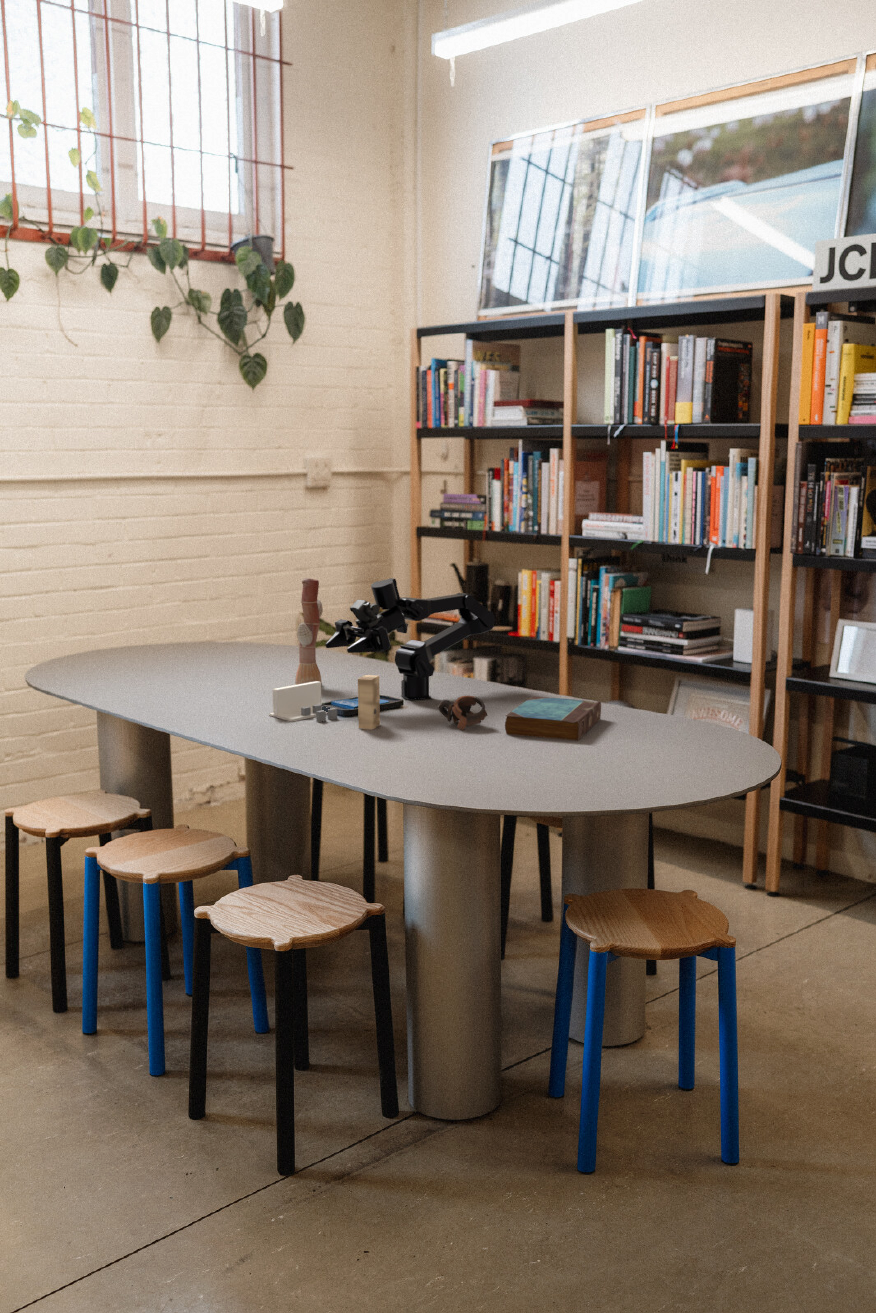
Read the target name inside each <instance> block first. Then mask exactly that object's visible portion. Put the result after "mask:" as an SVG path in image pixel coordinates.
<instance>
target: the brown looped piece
mask: <svg viewBox="0 0 876 1313" xmlns="http://www.w3.org/2000/svg"><path fill="white" fill-rule="evenodd" d="M476 704H478V705H479V706H480V708H481V710H480V711H478V712H475V713H474V712H473V711H471V709H472V706H475V705H476ZM437 708H438V710H439V712H440V714H441V715H442V716H443V717H444V718H446V719H447V722H448V723H450V722H451V721H452V722H453V724H455V723H457V722H458V724H457V725H456V727H457V728H458V729H459V730H461V731H464V730H465V729H466V727H471V726H474V725H477V724H481V723H482V721H484V720H485V719H486V717H488V716H489V715H488V713H487V710H486V705H485V702H484V701H483V699H481V698H479V697H477V696H473V695H462V696H459V697H457V699H456V700H455V701H452V700H448V699H443V700H441V701H440V702H439V705H438V707H437Z"/></svg>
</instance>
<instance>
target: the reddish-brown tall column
mask: <svg viewBox="0 0 876 1313" xmlns="http://www.w3.org/2000/svg"><path fill="white" fill-rule="evenodd" d="M301 583H302V591H301V592H302V593H301V601H300V602H301V606H302V607H301V608H302V614H303V622H301V623H299V625H298V627H297V630H296V631H297V632H296V637H297V639H298V642H299V643H298V651H299V652H298V653H299V656H298V658H299V664H298V667H297V669H296V674H295V681H294V682H295V684H294V685H298V684H304V683H309V682H314V681H319V682H321V686H322V685H323V682H322V676H321V671H320V669H319V666H318V663H317V659H316V658H317V657H316V654H317V652H316V644H317V640H318V639H317V638H318V634H319V630H320V625H321V620H320V618H321V617H322V615H323V612H324V611H323V604H322V601H321V600H320V599H318V595H319V588H320V581H319V579H314V578H307V577H306V578H303V579H302V581H301Z"/></svg>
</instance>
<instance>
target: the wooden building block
mask: <svg viewBox="0 0 876 1313" xmlns="http://www.w3.org/2000/svg"><path fill="white" fill-rule="evenodd" d="M380 691H381V690H380V675H374V674H373V675H372V674H371V675H369V674H365V675H363V676H360V677H359V678H357V705H358V706H357V708H358V709H357V711H358V716H357V717H358V729H359V728H361V730H374V729H376V728H377V727H379V726H381V709H380V706H381V705H380V704H381V700H380Z"/></svg>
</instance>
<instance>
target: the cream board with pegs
mask: <svg viewBox="0 0 876 1313" xmlns="http://www.w3.org/2000/svg"><path fill="white" fill-rule="evenodd" d="M272 707H273V708H272V709H273V711H272V712H270V713H268V716H269V715H270V716H269V717H272V716H273V718H277V719H281V720H284V721H289V722H296V721H302V720H306V719H307V720H308V719H311V718H316V719H315V720H316V723H317V722H318V723H322V721H323V722H326V721H327V720H330V719H331V721H332V719H333V720H337V719H338V708H337V707H331V708H330V709H328V712H326V711H324V710H322V707H323V704H322V685H321V682H319V681H314V682H309V683H304V684H298V685H295V684H292V685H287V686H282V687H277V688H272ZM327 713H328V714H327Z"/></svg>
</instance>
